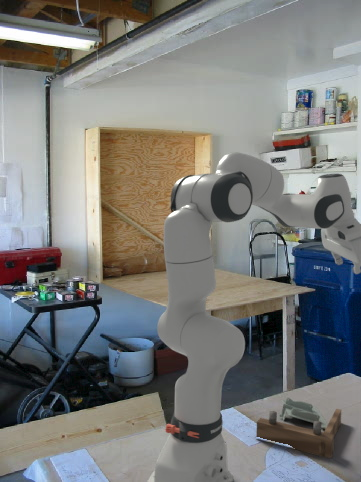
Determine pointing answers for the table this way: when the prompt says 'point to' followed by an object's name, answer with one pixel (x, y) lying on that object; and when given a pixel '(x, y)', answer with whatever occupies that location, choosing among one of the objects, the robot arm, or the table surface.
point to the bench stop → (301, 434)
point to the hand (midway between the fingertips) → (348, 268)
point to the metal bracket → (302, 411)
